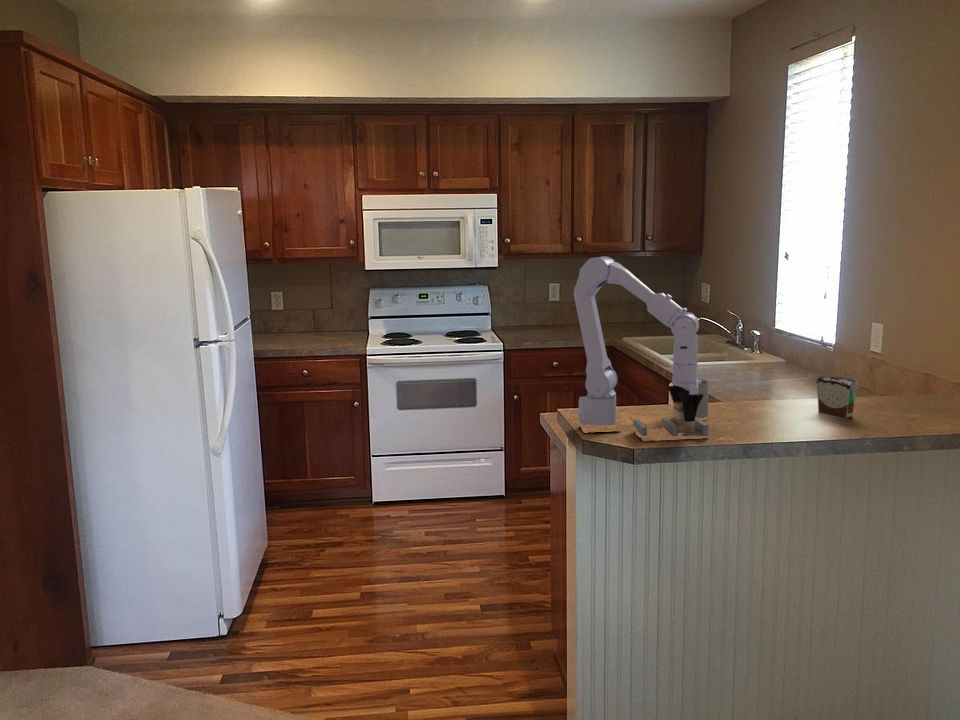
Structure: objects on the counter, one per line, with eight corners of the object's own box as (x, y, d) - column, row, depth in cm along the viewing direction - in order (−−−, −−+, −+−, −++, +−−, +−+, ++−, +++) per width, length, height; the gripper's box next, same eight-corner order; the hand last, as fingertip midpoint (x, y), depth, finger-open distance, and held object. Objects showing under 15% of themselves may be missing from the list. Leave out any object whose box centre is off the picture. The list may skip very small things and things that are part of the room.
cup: (681, 413, 214) (681, 377, 213) (711, 416, 210) (711, 379, 208) (671, 420, 207) (672, 383, 205) (702, 423, 203) (703, 385, 201)
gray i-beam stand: (642, 442, 186) (642, 427, 186) (633, 432, 195) (633, 419, 195) (707, 439, 187) (708, 424, 187) (695, 429, 196) (695, 416, 195)
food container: (868, 418, 202) (870, 380, 200) (850, 421, 199) (852, 383, 198) (831, 409, 213) (832, 373, 211) (814, 411, 211) (815, 375, 209)
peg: (678, 433, 189) (678, 405, 188) (673, 429, 193) (673, 402, 192) (694, 432, 189) (695, 404, 188) (689, 428, 193) (689, 401, 192)
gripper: (711, 367, 182) (710, 423, 184) (691, 357, 196) (691, 410, 198) (681, 368, 181) (681, 425, 183) (664, 359, 196) (664, 411, 198)
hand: (684, 417), depth 191 cm, fingers open, 7 cm apart
